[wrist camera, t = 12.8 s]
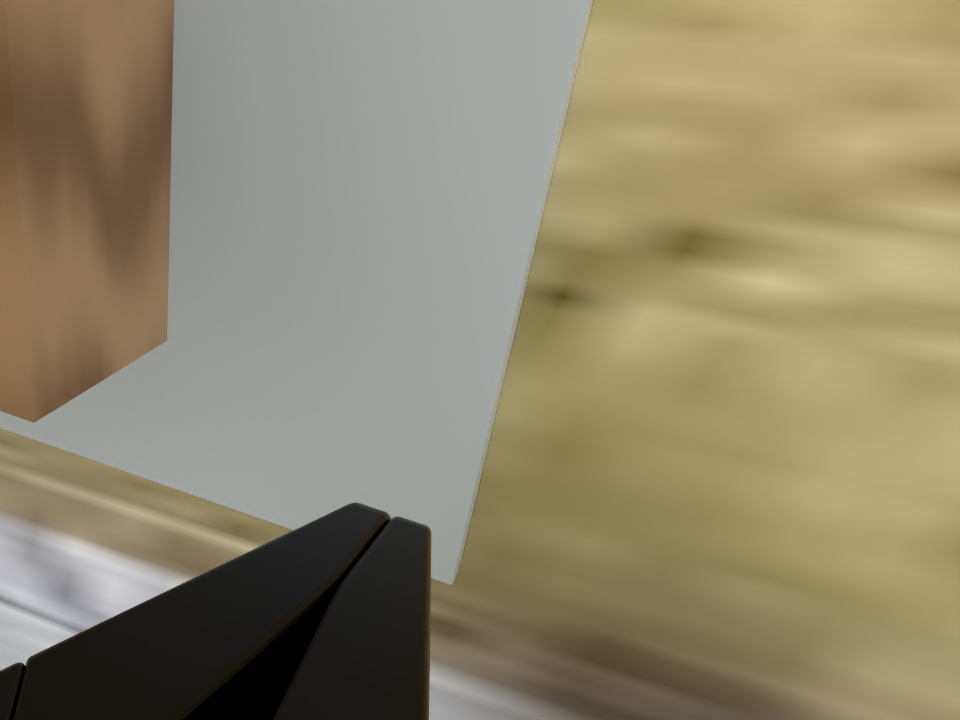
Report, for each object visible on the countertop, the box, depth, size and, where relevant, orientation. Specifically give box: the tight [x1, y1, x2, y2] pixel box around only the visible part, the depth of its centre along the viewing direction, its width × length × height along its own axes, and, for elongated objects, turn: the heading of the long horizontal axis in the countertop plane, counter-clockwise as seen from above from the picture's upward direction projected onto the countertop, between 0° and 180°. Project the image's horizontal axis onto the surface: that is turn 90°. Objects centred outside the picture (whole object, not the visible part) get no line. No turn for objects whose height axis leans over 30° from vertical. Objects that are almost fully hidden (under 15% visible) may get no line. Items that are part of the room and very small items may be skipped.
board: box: [0, 0, 593, 585], centre depth 20 cm, size 22×18×1 cm
